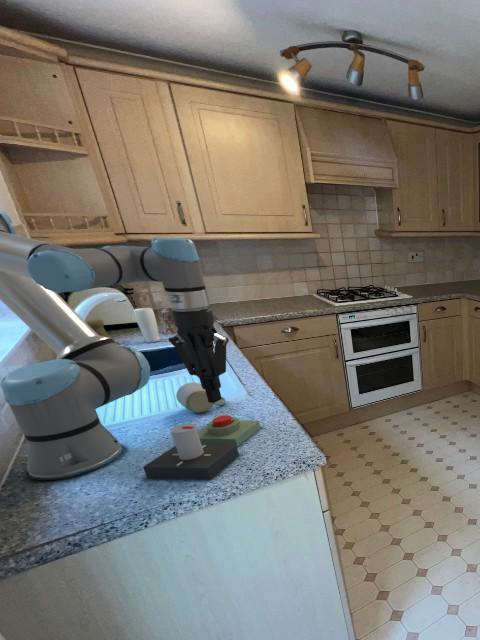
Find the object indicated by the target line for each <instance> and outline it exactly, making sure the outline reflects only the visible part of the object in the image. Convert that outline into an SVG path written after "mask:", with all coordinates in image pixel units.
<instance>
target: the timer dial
mask: <svg viewBox="0 0 480 640" xmlns="http://www.w3.org/2000/svg"><path fill="white" fill-rule="evenodd" d="M170 433H171V437H172V439H173V442H174V446H176V448H177V451H178V454H179V457H180V459H181V460H191V459H194V458H197V457H199V456H201V455H202V454H203V453H204V451H203V448H202V445H201V442H200V439H199V435H198V428H197V426H196V424H195V423H182V424H180V425H176V426H174V427H173V428H171V429H170Z"/></svg>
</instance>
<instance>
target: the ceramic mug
mask: <svg viewBox="0 0 480 640" xmlns="http://www.w3.org/2000/svg"><path fill="white" fill-rule="evenodd" d="M221 397H222V399H220V400H219V401H217V402H215V403H209V402H208V398H207V395H206V391H205V389H203V388H202V386H201V383H199V382H187V383H184V384H182V385H181V386H180V387H179V388H178V389H177V391H176V400H177V402H178V403H179V404H180V405H181V406H182V407H184V408H185V409H186V410H187V411H189V412H192V413H195V414H203V413H205V412H207V411H209V410H210V409H212V407H213V406H223V405H225V404H226V398H225V397H223V396H221Z"/></svg>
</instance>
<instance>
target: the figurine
mask: <svg viewBox="0 0 480 640" xmlns="http://www.w3.org/2000/svg"><path fill="white" fill-rule="evenodd" d="M172 310H173V309H172V308H170V307H169V308H167V307H165V308H163V309H162V310H161V311H160V313H161V318H160V320H162V326H163V327H162V328H163V333H164V334H165V335H169V334H170V335H172V334H173V335H175V334H177V330H178V327H176V326H175V325H174V321H173V318H172V314H171V312H172Z"/></svg>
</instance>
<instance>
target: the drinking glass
mask: <svg viewBox="0 0 480 640" xmlns="http://www.w3.org/2000/svg"><path fill="white" fill-rule="evenodd" d="M132 313H133V315H134V318H135V321H136V323H137V326H138V327H139V329H140V332H141V334H142V336H143V338H144V339H143V340H144V342H145V343H147V344H148V343H149V344H152V343H158V342H160V341H161V337H160V333H159V329H158V323H157V318H156V314H155V312H154V310H153V307H140V308H139V307H138V308H135V309H133V312H132Z"/></svg>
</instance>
